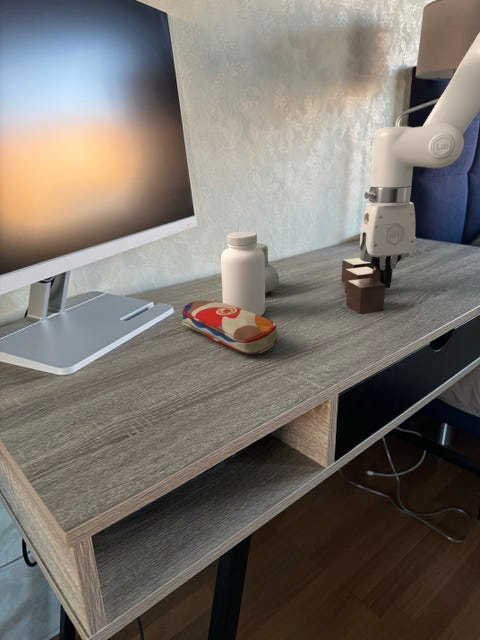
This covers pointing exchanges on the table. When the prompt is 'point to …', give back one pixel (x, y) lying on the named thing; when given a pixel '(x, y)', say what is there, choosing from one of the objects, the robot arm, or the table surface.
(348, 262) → the block
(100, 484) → the table surface
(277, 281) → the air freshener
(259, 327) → the pencil case
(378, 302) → the block
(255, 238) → the pill bottle
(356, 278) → the block middle
